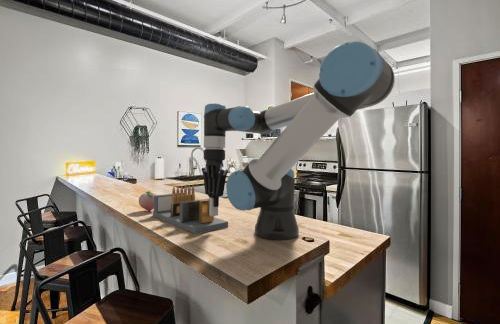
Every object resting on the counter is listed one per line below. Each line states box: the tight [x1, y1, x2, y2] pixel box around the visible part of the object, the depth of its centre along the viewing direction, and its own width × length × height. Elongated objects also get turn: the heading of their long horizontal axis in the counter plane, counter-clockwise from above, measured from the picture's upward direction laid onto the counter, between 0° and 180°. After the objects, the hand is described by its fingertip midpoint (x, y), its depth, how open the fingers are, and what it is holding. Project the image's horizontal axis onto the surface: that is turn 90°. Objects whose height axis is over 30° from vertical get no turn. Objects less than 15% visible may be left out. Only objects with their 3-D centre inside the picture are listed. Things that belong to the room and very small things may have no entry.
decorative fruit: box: [138, 191, 157, 212], centre depth 122 cm, size 9×8×10 cm
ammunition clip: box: [171, 184, 196, 217], centre depth 108 cm, size 11×2×12 cm, turn 133°
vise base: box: [152, 192, 229, 235], centre depth 106 cm, size 35×14×9 cm, turn 43°
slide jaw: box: [180, 198, 215, 223], centre depth 98 cm, size 8×14×8 cm, turn 133°
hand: (213, 215), depth 93 cm, fingers closed
